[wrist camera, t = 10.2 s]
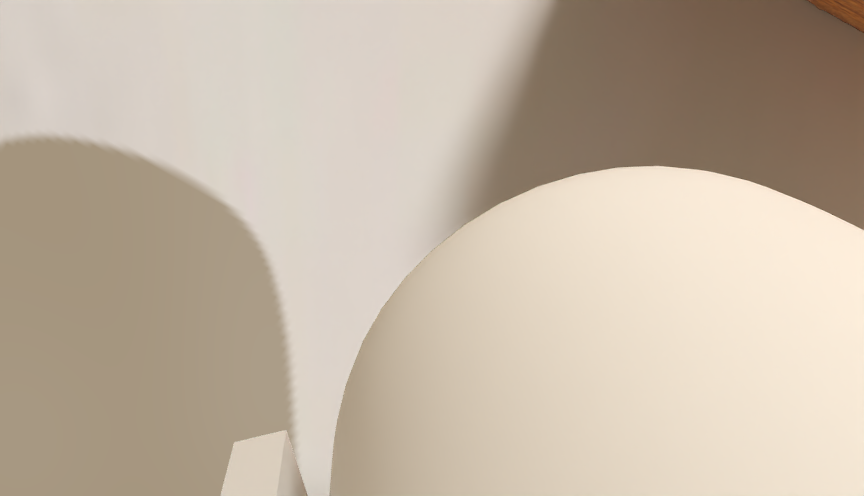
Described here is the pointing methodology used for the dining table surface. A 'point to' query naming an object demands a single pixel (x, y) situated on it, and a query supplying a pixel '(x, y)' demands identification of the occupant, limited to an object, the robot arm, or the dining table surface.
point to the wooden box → (844, 10)
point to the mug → (618, 349)
